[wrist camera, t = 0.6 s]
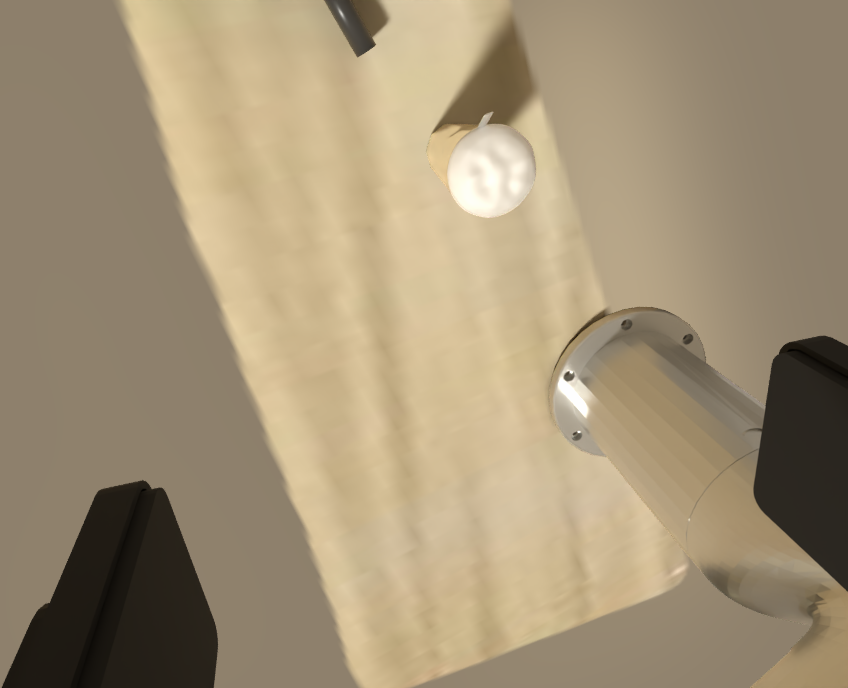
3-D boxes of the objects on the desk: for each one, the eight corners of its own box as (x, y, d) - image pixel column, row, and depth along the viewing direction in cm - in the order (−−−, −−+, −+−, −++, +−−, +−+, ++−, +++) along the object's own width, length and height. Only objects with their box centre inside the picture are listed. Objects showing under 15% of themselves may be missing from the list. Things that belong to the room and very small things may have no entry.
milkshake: (473, 86, 37) (536, 96, 28) (494, 174, 39) (558, 208, 30) (401, 111, 36) (442, 129, 28) (427, 198, 39) (471, 239, 30)
